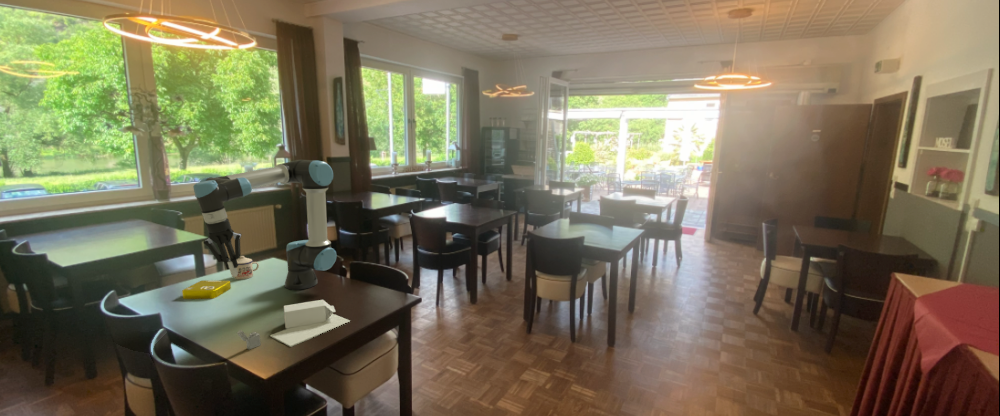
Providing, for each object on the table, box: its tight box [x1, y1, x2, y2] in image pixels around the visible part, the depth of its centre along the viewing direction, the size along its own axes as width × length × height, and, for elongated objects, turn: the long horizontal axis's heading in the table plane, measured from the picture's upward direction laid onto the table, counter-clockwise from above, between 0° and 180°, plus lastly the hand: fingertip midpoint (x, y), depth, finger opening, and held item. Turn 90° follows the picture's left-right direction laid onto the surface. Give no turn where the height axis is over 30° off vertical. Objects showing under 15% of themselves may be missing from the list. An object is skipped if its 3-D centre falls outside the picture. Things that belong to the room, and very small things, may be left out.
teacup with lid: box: [234, 255, 260, 280], centre depth 225 cm, size 12×9×12 cm
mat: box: [269, 313, 351, 348], centre depth 168 cm, size 26×21×1 cm
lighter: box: [236, 329, 262, 350], centre depth 150 cm, size 7×2×8 cm, turn 149°
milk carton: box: [283, 299, 336, 329], centre depth 172 cm, size 7×7×19 cm
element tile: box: [181, 279, 232, 300], centre depth 201 cm, size 15×15×5 cm
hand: (235, 275), depth 167 cm, fingers closed
